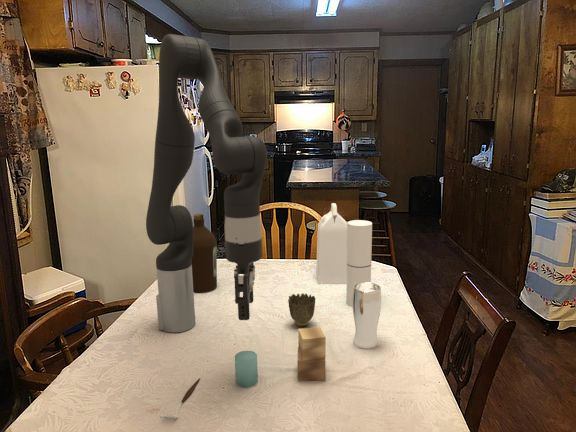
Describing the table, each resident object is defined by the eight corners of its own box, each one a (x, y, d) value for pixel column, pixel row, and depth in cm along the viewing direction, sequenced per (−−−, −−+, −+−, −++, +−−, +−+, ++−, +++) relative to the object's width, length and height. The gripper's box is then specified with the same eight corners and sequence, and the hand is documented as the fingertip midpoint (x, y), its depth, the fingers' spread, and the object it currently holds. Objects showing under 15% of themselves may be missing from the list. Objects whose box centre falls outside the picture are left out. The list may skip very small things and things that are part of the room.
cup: (313, 332, 124) (313, 304, 122) (286, 330, 125) (285, 302, 124) (317, 320, 131) (317, 293, 129) (291, 318, 132) (291, 291, 131)
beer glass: (362, 352, 113) (364, 294, 110) (346, 340, 119) (347, 285, 116) (385, 345, 116) (387, 288, 113) (368, 334, 122) (369, 280, 119)
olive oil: (186, 295, 150) (181, 219, 145) (186, 283, 161) (181, 212, 155) (220, 292, 153) (216, 217, 147) (217, 280, 163) (214, 210, 157)
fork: (205, 381, 103) (205, 372, 103) (172, 428, 88) (171, 418, 88) (194, 379, 104) (194, 371, 103) (159, 426, 89) (158, 416, 88)
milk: (352, 284, 158) (353, 208, 152) (317, 284, 158) (317, 208, 152) (348, 272, 170) (349, 201, 164) (316, 272, 170) (316, 201, 164)
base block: (297, 381, 102) (297, 360, 101) (298, 366, 108) (297, 347, 107) (325, 381, 102) (325, 360, 101) (324, 367, 108) (324, 347, 106)
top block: (302, 360, 101) (302, 339, 100) (298, 349, 106) (298, 328, 105) (325, 358, 102) (325, 337, 101) (320, 347, 106) (320, 326, 105)
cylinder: (234, 387, 100) (233, 361, 99) (237, 375, 105) (236, 350, 103) (256, 387, 100) (255, 362, 98) (258, 375, 104) (258, 350, 103)
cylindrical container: (343, 306, 140) (344, 224, 135) (349, 297, 147) (350, 219, 141) (367, 309, 138) (369, 226, 132) (372, 300, 144) (374, 221, 139)
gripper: (229, 228, 102) (233, 297, 106) (219, 246, 89) (223, 326, 92) (264, 227, 102) (266, 297, 106) (259, 245, 88) (261, 325, 92)
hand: (246, 310), depth 99 cm, fingers open, 8 cm apart
